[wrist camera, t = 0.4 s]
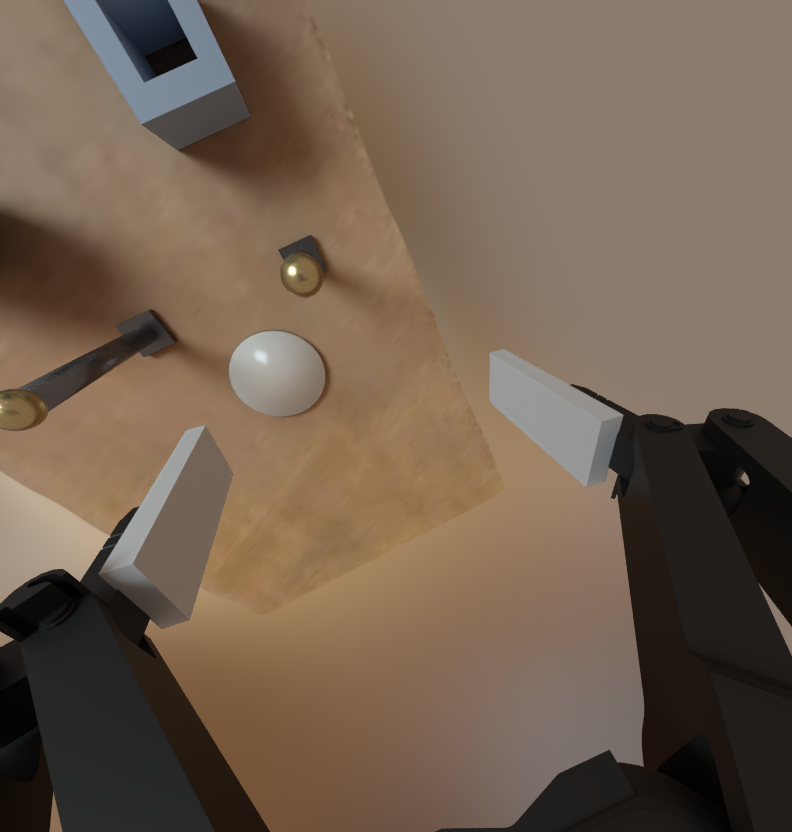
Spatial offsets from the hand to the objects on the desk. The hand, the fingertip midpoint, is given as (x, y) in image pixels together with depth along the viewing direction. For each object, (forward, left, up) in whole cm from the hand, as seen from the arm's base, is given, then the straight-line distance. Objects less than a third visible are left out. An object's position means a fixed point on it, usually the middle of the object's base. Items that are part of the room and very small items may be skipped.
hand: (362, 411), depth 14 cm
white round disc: (+4, -9, -26) cm, 28 cm away
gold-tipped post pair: (-6, -9, -26) cm, 28 cm away
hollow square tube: (-21, -2, -26) cm, 33 cm away
